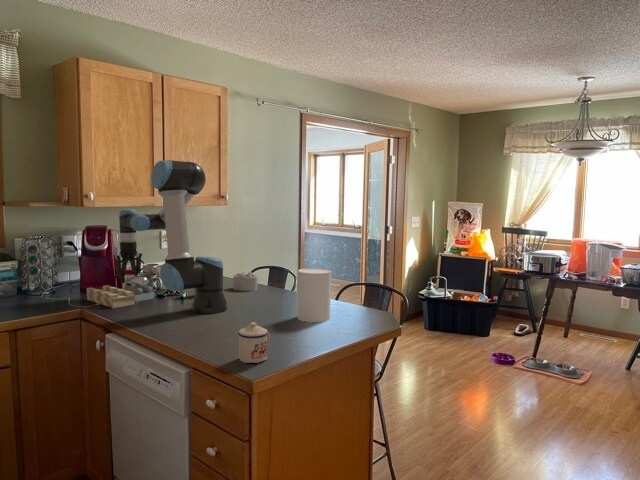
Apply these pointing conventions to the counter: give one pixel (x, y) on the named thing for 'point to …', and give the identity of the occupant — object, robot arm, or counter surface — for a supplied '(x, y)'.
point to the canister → (314, 294)
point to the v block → (141, 292)
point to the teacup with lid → (253, 343)
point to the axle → (137, 280)
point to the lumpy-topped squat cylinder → (245, 282)
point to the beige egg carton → (111, 296)
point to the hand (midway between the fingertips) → (129, 288)
